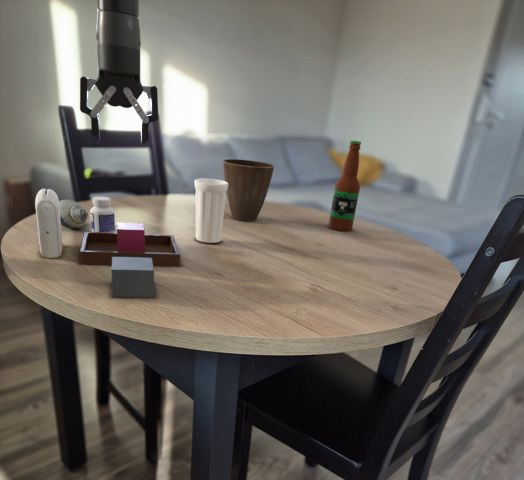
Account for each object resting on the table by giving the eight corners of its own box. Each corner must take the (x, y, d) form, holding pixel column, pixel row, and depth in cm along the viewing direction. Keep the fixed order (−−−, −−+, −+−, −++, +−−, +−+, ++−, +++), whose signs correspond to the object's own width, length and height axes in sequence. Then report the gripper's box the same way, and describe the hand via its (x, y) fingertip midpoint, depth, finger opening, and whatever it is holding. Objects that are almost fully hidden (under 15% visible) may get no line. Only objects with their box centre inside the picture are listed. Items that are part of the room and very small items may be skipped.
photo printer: (62, 258, 98) (57, 195, 92) (39, 258, 96) (32, 194, 90) (63, 243, 106) (58, 185, 100) (41, 243, 104) (35, 184, 99)
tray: (80, 264, 96) (79, 251, 94) (85, 243, 108) (84, 231, 107) (179, 266, 101) (180, 254, 100) (173, 246, 113) (173, 235, 112)
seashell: (79, 226, 125) (83, 239, 115) (49, 214, 121) (51, 225, 111) (88, 204, 123) (93, 214, 114) (58, 190, 119) (61, 200, 110)
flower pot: (209, 214, 147) (212, 158, 139) (247, 211, 156) (252, 159, 149) (239, 226, 137) (244, 167, 130) (278, 222, 146) (284, 167, 139)
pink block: (117, 255, 101) (117, 229, 99) (117, 247, 106) (117, 222, 103) (144, 255, 103) (144, 230, 100) (143, 248, 107) (143, 223, 105)
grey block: (112, 297, 83) (111, 269, 81) (112, 282, 89) (112, 256, 86) (153, 297, 85) (154, 270, 82) (151, 283, 91) (151, 257, 88)
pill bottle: (119, 236, 116) (118, 198, 112) (108, 241, 111) (106, 202, 107) (99, 232, 117) (97, 194, 112) (87, 237, 112) (85, 198, 108)
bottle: (324, 228, 147) (339, 139, 135) (332, 224, 153) (347, 139, 141) (347, 233, 144) (364, 143, 133) (354, 228, 150) (371, 142, 139)
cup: (190, 235, 123) (193, 177, 117) (222, 237, 125) (226, 179, 118) (193, 244, 116) (196, 183, 110) (226, 246, 118) (231, 185, 111)
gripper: (158, 52, 92) (156, 143, 99) (78, 40, 88) (83, 136, 95) (160, 49, 85) (158, 147, 93) (75, 36, 82) (80, 139, 89)
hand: (120, 141), depth 94 cm, fingers open, 8 cm apart
